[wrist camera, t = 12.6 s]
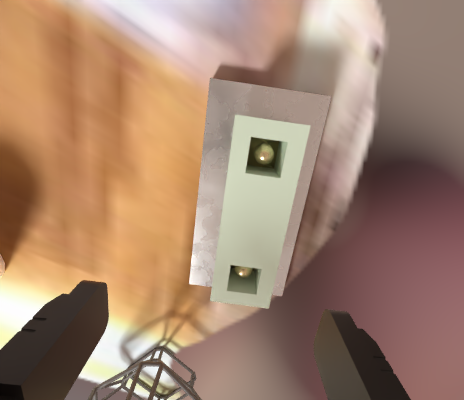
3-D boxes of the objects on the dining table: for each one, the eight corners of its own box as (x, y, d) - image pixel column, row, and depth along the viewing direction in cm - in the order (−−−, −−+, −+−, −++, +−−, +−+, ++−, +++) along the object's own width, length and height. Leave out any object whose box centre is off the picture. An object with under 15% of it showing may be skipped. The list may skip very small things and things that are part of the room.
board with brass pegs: (211, 79, 26) (203, 68, 19) (326, 97, 26) (354, 91, 20) (191, 276, 33) (180, 313, 27) (280, 288, 33) (289, 327, 27)
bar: (235, 114, 23) (235, 114, 19) (298, 124, 23) (310, 125, 20) (213, 276, 29) (209, 301, 25) (264, 283, 29) (268, 308, 25)
